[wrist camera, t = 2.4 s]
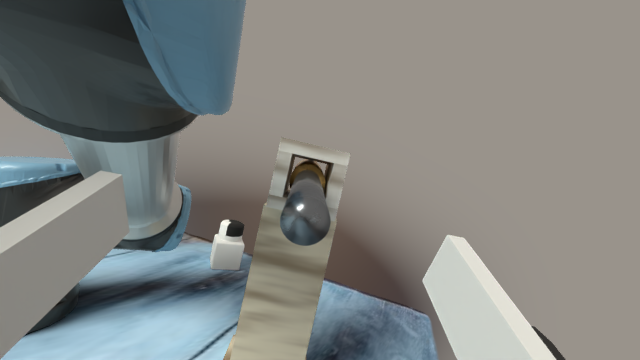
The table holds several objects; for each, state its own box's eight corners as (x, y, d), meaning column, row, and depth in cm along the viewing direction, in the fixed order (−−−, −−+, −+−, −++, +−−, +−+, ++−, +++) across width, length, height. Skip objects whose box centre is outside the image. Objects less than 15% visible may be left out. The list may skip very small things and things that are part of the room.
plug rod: (331, 260, 17) (347, 195, 17) (264, 247, 17) (278, 180, 16) (318, 189, 43) (324, 162, 42) (291, 183, 43) (297, 156, 42)
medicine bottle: (236, 260, 76) (244, 219, 76) (239, 271, 70) (248, 226, 69) (209, 258, 73) (218, 216, 73) (210, 269, 67) (220, 223, 66)
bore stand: (304, 427, 32) (367, 156, 30) (203, 412, 31) (264, 133, 30) (304, 356, 44) (349, 159, 42) (231, 343, 43) (275, 142, 42)
